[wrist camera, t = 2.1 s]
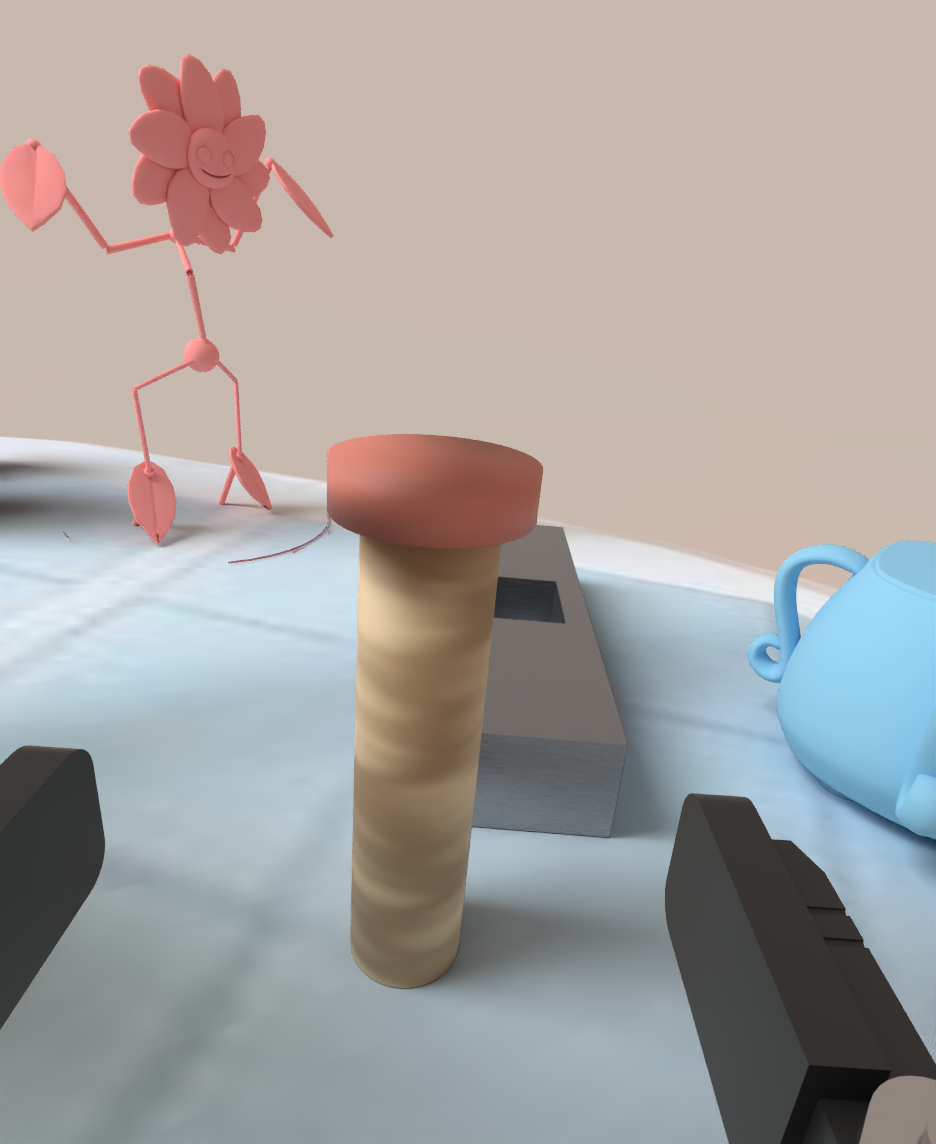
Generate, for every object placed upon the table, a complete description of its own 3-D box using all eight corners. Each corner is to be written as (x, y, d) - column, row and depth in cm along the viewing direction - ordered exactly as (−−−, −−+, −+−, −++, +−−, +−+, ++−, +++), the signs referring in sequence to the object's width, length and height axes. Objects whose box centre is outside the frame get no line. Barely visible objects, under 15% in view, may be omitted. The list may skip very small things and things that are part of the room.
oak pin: (308, 1006, 23) (303, 477, 17) (341, 870, 29) (348, 427, 22) (483, 1020, 24) (551, 497, 17) (484, 882, 29) (536, 444, 22)
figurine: (29, 544, 57) (-53, 4, 43) (279, 486, 77) (278, 105, 63) (145, 607, 49) (91, -23, 35) (388, 524, 69) (414, 102, 55)
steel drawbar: (408, 821, 32) (414, 727, 30) (443, 576, 58) (448, 517, 56) (609, 837, 32) (627, 744, 30) (554, 585, 58) (562, 527, 56)
